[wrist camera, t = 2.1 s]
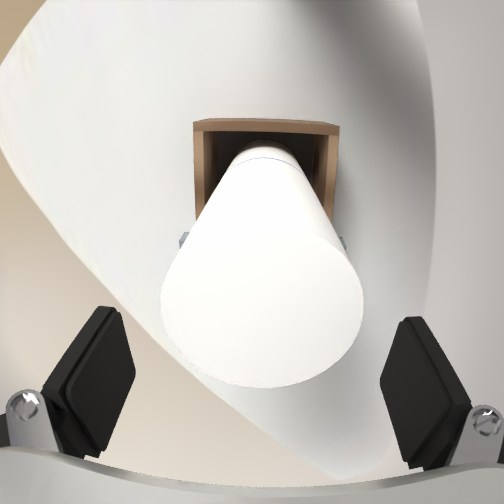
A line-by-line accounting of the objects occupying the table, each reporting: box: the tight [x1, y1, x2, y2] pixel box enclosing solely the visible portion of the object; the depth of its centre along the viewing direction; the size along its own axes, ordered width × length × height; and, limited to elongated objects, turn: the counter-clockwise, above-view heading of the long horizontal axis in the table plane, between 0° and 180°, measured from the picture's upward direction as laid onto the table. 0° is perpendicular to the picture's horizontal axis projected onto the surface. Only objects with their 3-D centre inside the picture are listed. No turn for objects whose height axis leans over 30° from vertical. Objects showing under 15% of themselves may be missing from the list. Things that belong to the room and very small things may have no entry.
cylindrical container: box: [160, 140, 364, 388], centre depth 22 cm, size 7×7×25 cm
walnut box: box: [193, 118, 339, 222], centre depth 30 cm, size 12×12×8 cm
